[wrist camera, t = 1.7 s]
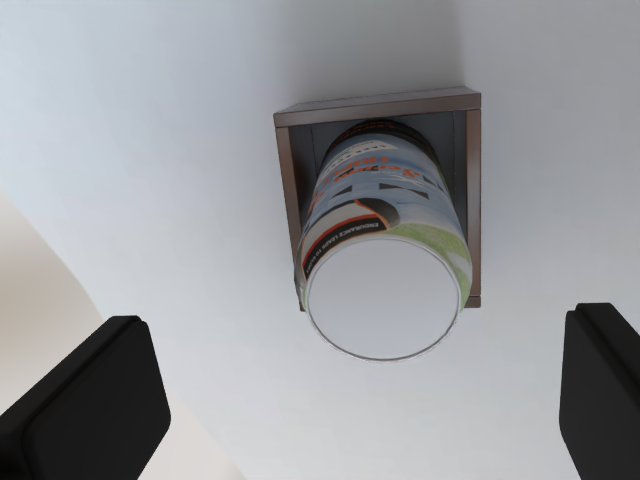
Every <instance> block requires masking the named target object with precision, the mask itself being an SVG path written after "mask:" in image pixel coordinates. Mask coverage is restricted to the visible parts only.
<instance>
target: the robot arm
mask: <svg viewBox="0 0 640 480" xmlns="http://www.w3.org/2000/svg"><path fill="white" fill-rule="evenodd" d="M170 421H171V414H170V409H169V405H168V401H167V397H166V393H165V390H164V386H163V382H162V378H161V374H160V370H159V366H158V362H157V358H156V354H155V350H154V347H153V343H152V339H151V335H150V331H149V327H148V325H147V323H146V322H144V321H142V320H141V319H140V317H138V316H136V315H134V316H112V317H111V318H109V319H108V320H107V321H106V322H105V323H104V324H102V325H101V326H100V327H99V328H98V329H97V330H96V331H95V332H94V333H92V334H91V335H90V336H89V337H88V338H87V339H86V340H85V341H84V342H82V343H81V344H80V345H79V346H78V347H77V348H76V349H75V350H73V351H72V352H71V353H70V354H69V355H68V356H67V357H66V358H65V359H63V360H62V361H61V362H60V363H59V364H58V365H57V366H56V367H54V368H53V369H52V370H51V371H50V372H49V373H48V374H47V375H46V376H44V377H43V378H42V379H41V380H40V381H39V382H38V383H36V384H35V385H34V386H33V387H32V388H31V389H30V390H29V391H28V392H27V393H25V394H24V395H23V396H22V397H21V398H20V399H19V400H18V401H16V402H15V403H14V404H13V405H12V406H11V407H10V408H9V409H7V410H6V411H5V412H4V413H3V414H2V415H1V416H0V480H137V479H138V477H139V476H140V474H141V473H142V471H143V470H144V468H145V466H146V465H147V463H148V462H149V460H150V458H151V457H152V455H153V453H154V452H155V450H156V449H157V447H158V445H159V444H160V442H161V440H162V439H163V437H164V436H165V434H166V432H167V431H168V429H169V426H170ZM559 425H560V431H561V434H562V437H563V440H564V442H565V444H566V446H567V449H568V451H569V453H570V455H571V458H572V460H573V462H574V464H575V467H576V469H577V471H578V473H579V476H580V478H581V480H640V336H639V334H638V333H637V332H636V331H635V330H634V329H633V328H632V327H631V325H630V324H629V323H628V322H627V321H626V320H625V319H624V318H623V316H622V315H621V314H620V313H619V312H618V311H617V310H616V309H615V307H614V306H613V305H612V304H610V303H578V305H577V306H576V308H575V311H568V312H567V314H566V321H565V336H564V351H563V366H562V381H561V396H560V411H559Z"/></svg>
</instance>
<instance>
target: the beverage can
mask: <svg viewBox="0 0 640 480" xmlns="http://www.w3.org/2000/svg"><path fill="white" fill-rule="evenodd" d="M294 282H295V287H296V292H297V295H298V297H299V300H300V302H301V304H302V307H303V308H304V310H305V311H306V313H307V315H308V317H309V320H310V322H311V324H312V326H313V327H314V329H315V330H316V332H317V333H318V334H319V335H320V337H321V338H322V339H323V340H324V341H325V342H326V343H328V344H329V345H330V346H332V347H333V348H334V349H336V350H338V351H340V352H341V353H343V354H345V355H348V356H350V357H353V358H356V359H359V360H364V361H368V362H378V363H390V362H399V361H405V360H409V359H412V358H415V357H418V356H420V355H422V354H424V353H426V352H428V351H430V350H432V349H433V348H435V347H436V346H437V345H439V344H440V343H441V342H442V341H443V340H444V339H445V338H446V337H447V336H448V335H449V333H450V332H451V331H452V329H453V328H454V326H455V324H456V322H457V319H458V317H459V314H460V313H461V311H462V310H463V308H464V306H465V303H466V301H467V299H468V297H469V294H470V289H471V284H472V263H471V258H470V254H469V250H468V247H467V244H466V241H465V238H464V235H463V232H462V229H461V226H460V223H459V220H458V217H457V214H456V211H455V208H454V205H453V202H452V200H451V197H450V194H449V191H448V188H447V185H446V182H445V179H444V176H443V173H442V170H441V167H440V164H439V161H438V158H437V156H436V154H435V151H434V149H433V148H432V146H431V145H430V143H429V142H428V141H427V140H426V139H425V138H424V137H423V136H422V135H421V134H420V133H419V132H417V131H416V130H414V129H413V128H411V127H409V126H407V125H404V124H402V123H399V122H394V121H390V120H375V121H367V122H364V123H361V124H357V125H355V126H354V127H352V128H350V129H348V130H346V131H345V132H344V133H342V134H341V135H340V136H338V138H337V139H336V140H335V141H334V142H333V143H332V144H331V146H330V147H329V149H328V150H327V152H326V154H325V156H324V159H323V161H322V165H321V168H320V172H319V175H318V179H317V182H316V186H315V190H314V193H313V197H312V200H311V204H310V207H309V211H308V214H307V218H306V222H305V225H304V229H303V232H302V236H301V239H300V243H299V246H298V250H297V254H296V259H295V264H294Z"/></svg>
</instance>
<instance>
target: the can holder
mask: <svg viewBox="0 0 640 480" xmlns="http://www.w3.org/2000/svg"><path fill="white" fill-rule="evenodd" d="M480 108H481V93H479V92H477V91H475V90H472V89H470V88H468V87H465V86H463V87H453V88H443V89H434V90H424V91H414V92H405V93H395V94H385V95H376V96H366V97H356V98H347V99H337V100H327V101H318V102H308V103H298V104H295V105H293V106H291V107H288V108H286V109H283V110H281V111H279V112H276V113H274V114H273V117H274V124H275V131H276V139H277V146H278V153H279V161H280V168H281V175H282V182H283V190H284V197H285V204H286V211H287V219H288V226H289V233H290V240H291V248H292V255H293V262H294V264H295V259H296V254H297V250H298V246H299V243H300V239H301V236H302V232H303V229H304V225H305V222H306V218H307V214H308V211H309V207H310V204H311V200H312V197H313V193H314V190H315V186H316V182H317V177H316V169H315V160H314V151H313V142H312V133H311V124H322V123H332V122H343V121H353V120H364V119H374V118H385V117H395V116H406V115H417V114H427V113H438V112H448V111H453V112H454V172H455V211H456V214H457V217H458V220H459V223H460V226H461V229H462V232H463V235H464V238H465V241H466V244H467V247H468V250H469V254H470V258H471V263H472V284H471V289H470V294H469V297H468V299H467V301H466V303H465V306H464V308H480V307H481V297H480V295H481V109H480ZM298 299H299V297H298ZM299 305H300V311H301V312H304V311H305V310H304V308H303V307H302V304H301V302H300V300H299Z"/></svg>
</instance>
